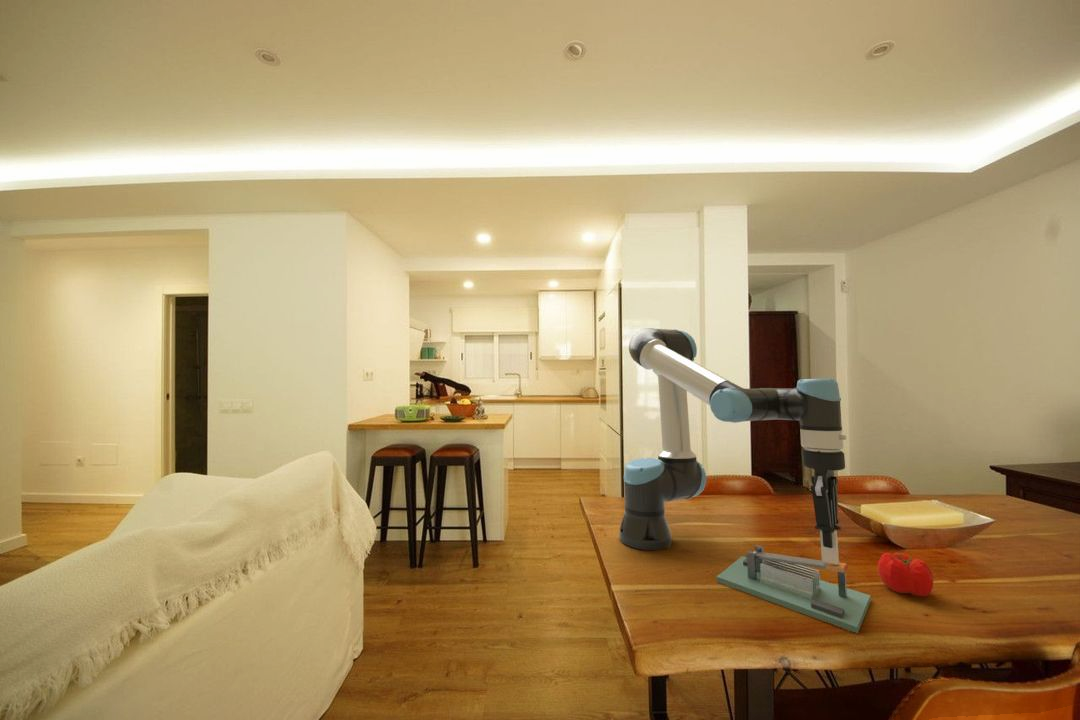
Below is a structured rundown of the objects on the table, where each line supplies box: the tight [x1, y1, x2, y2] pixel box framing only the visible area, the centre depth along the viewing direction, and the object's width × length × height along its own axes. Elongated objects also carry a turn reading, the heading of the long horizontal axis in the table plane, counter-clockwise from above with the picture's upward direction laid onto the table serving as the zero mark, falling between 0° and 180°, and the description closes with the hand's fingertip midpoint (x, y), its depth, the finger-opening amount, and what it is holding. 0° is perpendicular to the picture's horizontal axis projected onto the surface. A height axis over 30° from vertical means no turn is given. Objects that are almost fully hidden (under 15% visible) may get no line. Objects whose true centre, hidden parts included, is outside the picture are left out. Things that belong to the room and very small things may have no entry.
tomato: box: [877, 552, 934, 597], centre depth 87 cm, size 9×9×8 cm
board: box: [716, 555, 872, 634], centre depth 87 cm, size 26×16×2 cm, turn 43°
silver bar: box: [746, 544, 848, 600], centre depth 87 cm, size 17×8×6 cm, turn 43°
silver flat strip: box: [753, 549, 848, 573], centre depth 87 cm, size 18×3×1 cm, turn 43°
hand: (830, 561), depth 82 cm, fingers closed
